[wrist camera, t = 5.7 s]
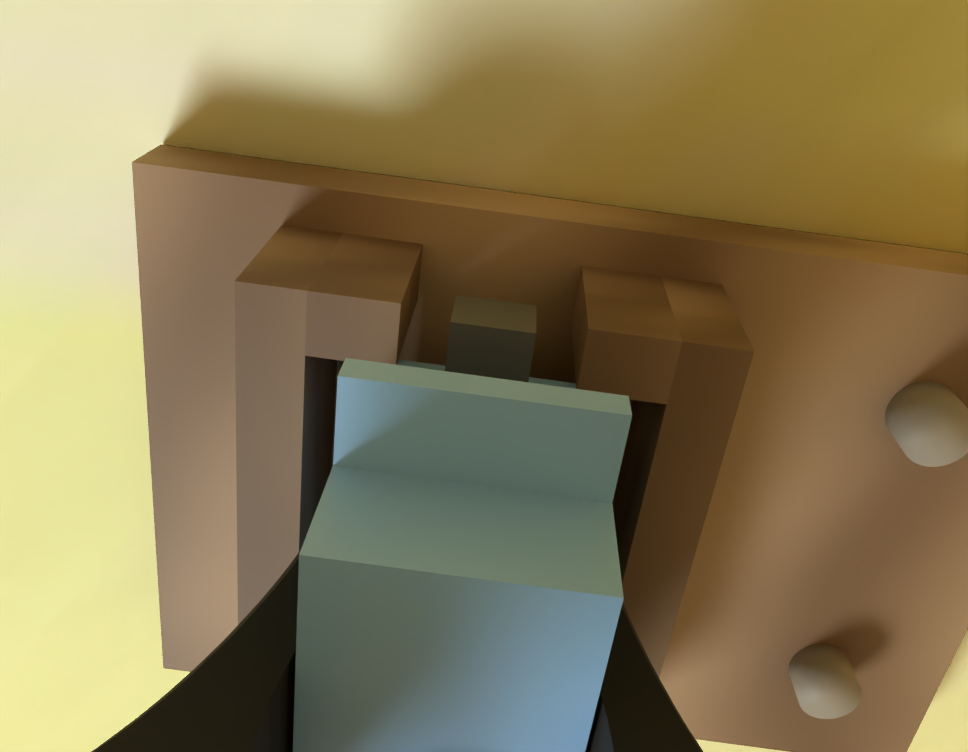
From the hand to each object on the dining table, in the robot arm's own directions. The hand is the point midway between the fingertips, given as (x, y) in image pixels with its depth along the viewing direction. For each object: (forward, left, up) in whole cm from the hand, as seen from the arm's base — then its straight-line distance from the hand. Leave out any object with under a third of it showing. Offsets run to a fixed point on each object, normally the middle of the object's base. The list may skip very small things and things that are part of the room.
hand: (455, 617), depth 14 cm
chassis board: (-2, -1, -4) cm, 5 cm away
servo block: (0, 0, -2) cm, 2 cm away
